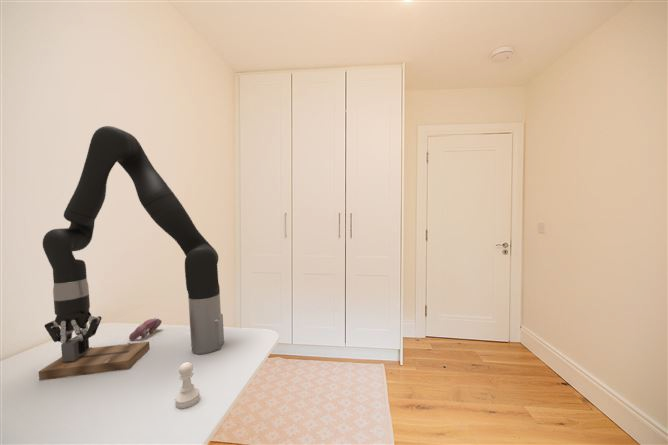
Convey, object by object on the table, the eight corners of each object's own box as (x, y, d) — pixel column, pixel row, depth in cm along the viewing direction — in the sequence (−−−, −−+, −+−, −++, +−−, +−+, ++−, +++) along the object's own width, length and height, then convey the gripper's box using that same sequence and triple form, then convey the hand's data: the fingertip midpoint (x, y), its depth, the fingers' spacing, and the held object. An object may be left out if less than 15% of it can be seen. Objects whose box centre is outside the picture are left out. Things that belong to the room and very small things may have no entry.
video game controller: (136, 345, 96) (143, 328, 95) (126, 339, 97) (133, 322, 96) (159, 333, 106) (165, 317, 105) (150, 328, 106) (156, 312, 105)
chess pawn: (194, 391, 66) (192, 355, 66) (203, 399, 63) (201, 361, 63) (171, 403, 63) (169, 364, 62) (180, 412, 59) (178, 372, 59)
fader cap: (89, 350, 84) (88, 334, 84) (74, 360, 78) (73, 343, 78) (78, 351, 84) (77, 335, 83) (62, 362, 78) (61, 344, 77)
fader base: (149, 348, 90) (149, 340, 90) (129, 369, 78) (128, 359, 78) (73, 357, 86) (72, 349, 86) (39, 380, 74) (38, 370, 74)
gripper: (106, 290, 85) (110, 344, 86) (54, 294, 83) (59, 350, 83) (89, 297, 78) (94, 356, 78) (32, 301, 75) (37, 363, 76)
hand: (76, 352), depth 81 cm, fingers closed on fader cap, 3 cm apart
